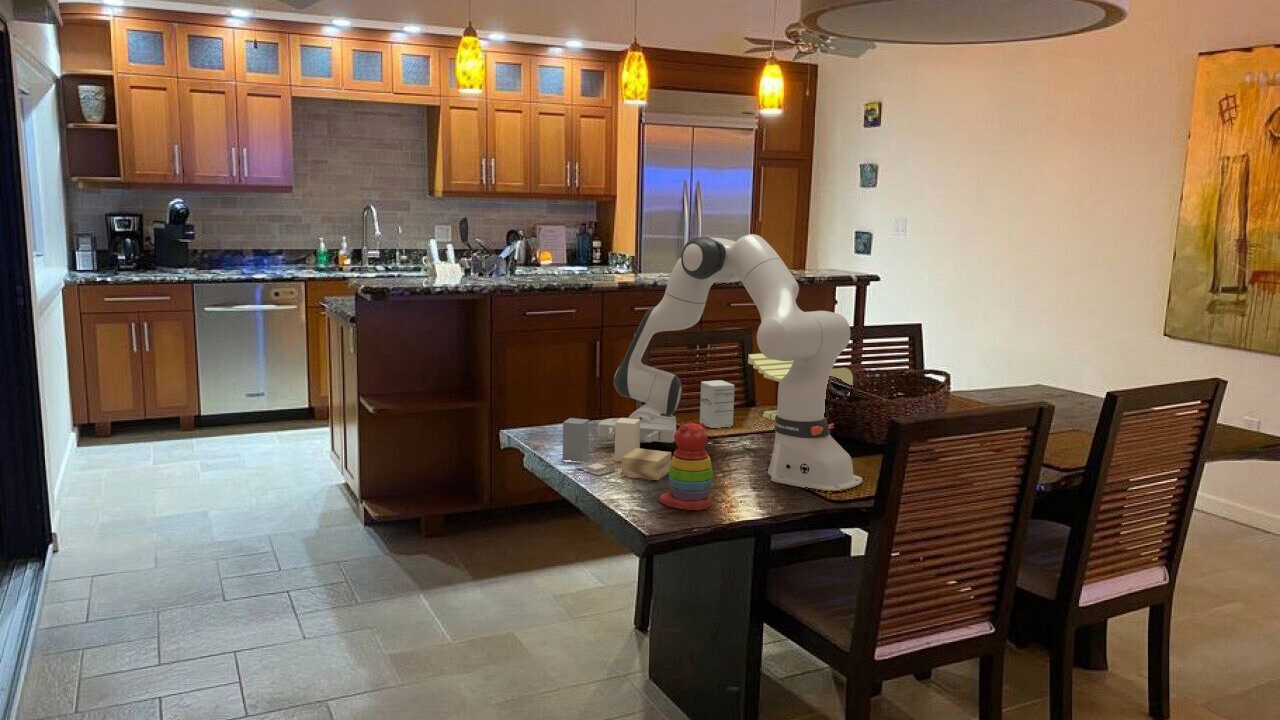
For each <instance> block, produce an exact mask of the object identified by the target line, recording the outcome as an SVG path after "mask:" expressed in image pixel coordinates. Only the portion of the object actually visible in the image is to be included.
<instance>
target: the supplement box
mask: <svg viewBox="0 0 1280 720" xmlns="http://www.w3.org/2000/svg"><path fill="white" fill-rule="evenodd" d="M699 404H700V405H699V406H700V407H699V423H704V424H705V426H706V427H707V428H709V427H710V429H711V428H718V429H722V428H721V427H729V428H732V427H731V426H733V427H734V408H735V384H733V383H730V382H728V381H725V380H723V379H722V380H721V379H719V380H718V379H716V380H708V381H707V380H706V381H705V380H704V381H701V382H700V403H699Z"/></svg>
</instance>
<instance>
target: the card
mask: <svg viewBox="0 0 1280 720" xmlns="http://www.w3.org/2000/svg"><path fill="white" fill-rule="evenodd" d="M595 463H596V464H592V463H591V464H592V465H588V464H587V465H588V466H586V468H587V469H591V470H594V471H600V470H604V469H606V470H607V471H610V472H611V471H615V470H617V469H616V468H612V467H609V466H607V465H603V464H601V463H598V462H595ZM607 468H608V469H610V470H608V469H607ZM604 472H606V471H604ZM606 473H607V472H606Z"/></svg>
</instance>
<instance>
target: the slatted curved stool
mask: <svg viewBox="0 0 1280 720" xmlns="http://www.w3.org/2000/svg"><path fill="white" fill-rule="evenodd" d="M747 364H749V365H753V366H752V368H753V369H756V370H758V372H757V373H759V374H761V375H762V374H763V378H764V379H768V380H772V381H776V382H778V383H780V381H781V379H782V378H783V377H784V376H785V375H786V374H787V373H788V372H789V370H790V368H791V366H792V364H793V361H779V360H773V359H769V358H767V357H765V356H764V355H763V354H762V353H751V354H750V353H749V354H748V358H747ZM830 376H834V377H836V378H839V379H841V380H842V381H843V382H845V383H847V384H849V385H852V386H853V385H854V383H853V382H854V377H853V373H852V371H851V370H850V369H849V368H848V367H840V368H837V367H836V368H832V371H831V373H830ZM776 415H777V409H773V410H767V411H763V414H762V416H764V417H767V418H771V419H773V420H775V416H776ZM764 417H763V418H764ZM771 419H770V420H771Z"/></svg>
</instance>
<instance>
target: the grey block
mask: <svg viewBox="0 0 1280 720" xmlns="http://www.w3.org/2000/svg"><path fill="white" fill-rule="evenodd" d="M589 422H590V419H585V418H575V417H570V418H568V419H566V420H564V421H563V422H562V461H563V460H571V461H580V462H582V461H584V460H585V459H586V458H588V457H589V452H590V451H589V449H590V448H589V447H590V446H589V444H590V443H589V442H590V439H589V438H590V436H589V435H590V433H589V432H590V423H589Z"/></svg>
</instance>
